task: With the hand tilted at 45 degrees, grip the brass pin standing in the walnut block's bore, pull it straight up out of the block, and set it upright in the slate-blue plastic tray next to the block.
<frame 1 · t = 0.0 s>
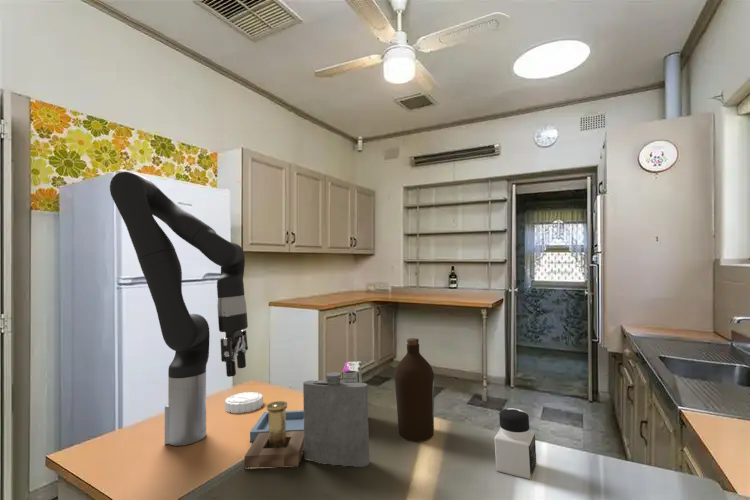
hand: (236, 371, 101), 17 cm above the table, tool pointing down, fingers open, 8 cm apart
olive oil: (416, 434, 98), on the table
slate tray: (282, 429, 103), on the table
walnut pin block: (277, 455, 88), on the table
brass pin: (277, 429, 89), in the walnut pin block
hip flask: (335, 462, 85), on the table
medicine bottle: (516, 468, 80), on the table
mooncake: (244, 408, 123), on the table
candy bar box: (353, 424, 106), on the table
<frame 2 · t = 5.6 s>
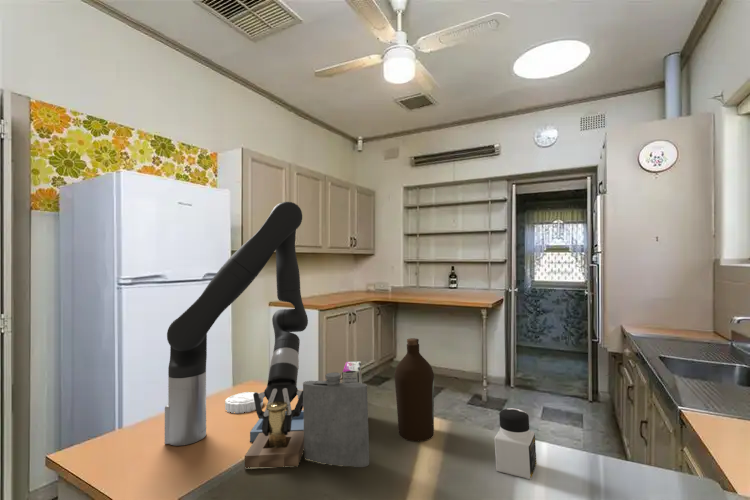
hand: (276, 433, 87), 6 cm above the table, tool tilted 45°, fingers closed on brass pin, 4 cm apart
brass pin: (277, 429, 89), in the walnut pin block, touching gripper
everything else where it was.
when the fingers open (8 cm above the table, at t = 12.3 s): brass pin drops 2 cm, resting on slate tray.
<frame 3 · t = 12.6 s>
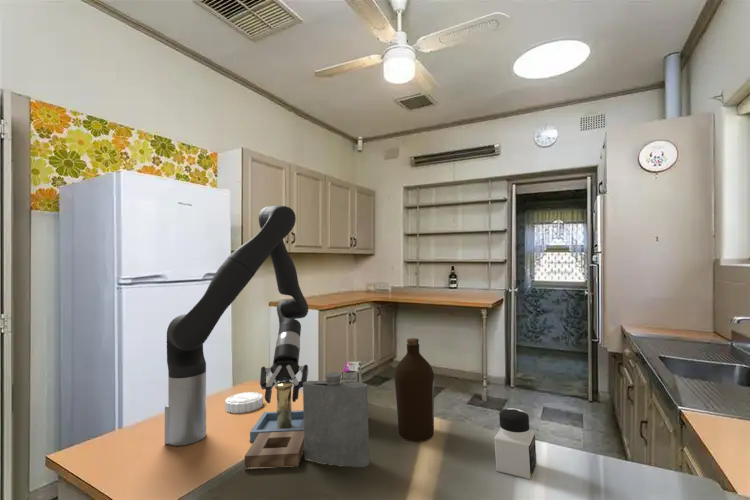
hand: (281, 401, 102), 8 cm above the table, tool tilted 45°, fingers open, 6 cm apart
brass pin: (284, 405, 104), in the slate tray, point 7 cm above the table
everything else where it was.
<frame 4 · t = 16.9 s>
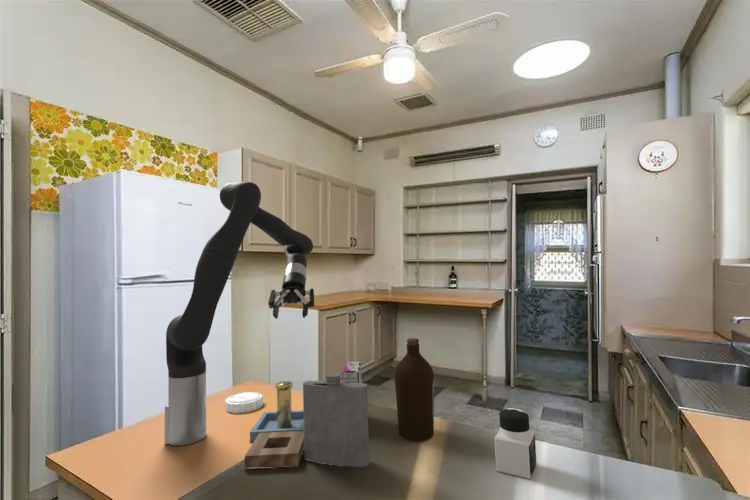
hand: (289, 316, 113), 31 cm above the table, tool tilted 45°, fingers open, 8 cm apart
nothing on the table moved.
at the end: brass pin inside the target area on the slate tray (0.5 cm from its centre), point 6.6 cm above the slate tray's base; the gripper is holding nothing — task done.
